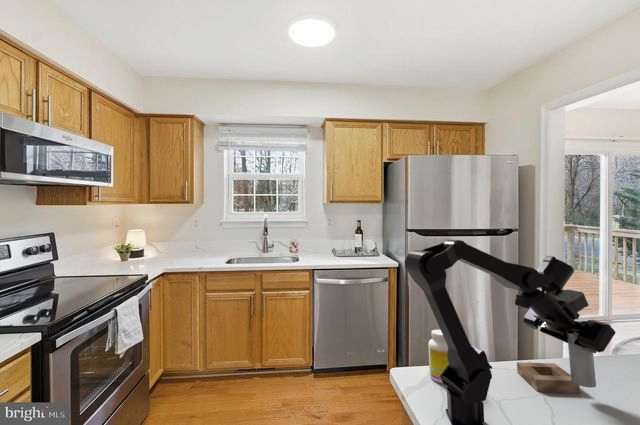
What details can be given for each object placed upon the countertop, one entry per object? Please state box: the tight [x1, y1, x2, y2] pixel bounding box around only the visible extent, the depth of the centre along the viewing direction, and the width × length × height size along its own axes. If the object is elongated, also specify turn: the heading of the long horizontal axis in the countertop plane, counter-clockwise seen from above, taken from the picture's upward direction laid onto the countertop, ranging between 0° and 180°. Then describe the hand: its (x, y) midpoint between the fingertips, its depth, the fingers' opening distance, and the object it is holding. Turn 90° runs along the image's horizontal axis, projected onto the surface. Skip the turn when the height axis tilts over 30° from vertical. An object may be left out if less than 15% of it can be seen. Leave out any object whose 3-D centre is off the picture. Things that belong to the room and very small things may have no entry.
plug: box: [567, 320, 597, 388], centre depth 75 cm, size 5×5×14 cm
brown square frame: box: [516, 361, 581, 394], centre depth 83 cm, size 10×10×3 cm
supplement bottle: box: [427, 329, 449, 384], centre depth 87 cm, size 7×7×13 cm
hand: (585, 347), depth 75 cm, fingers closed on plug, 5 cm apart
